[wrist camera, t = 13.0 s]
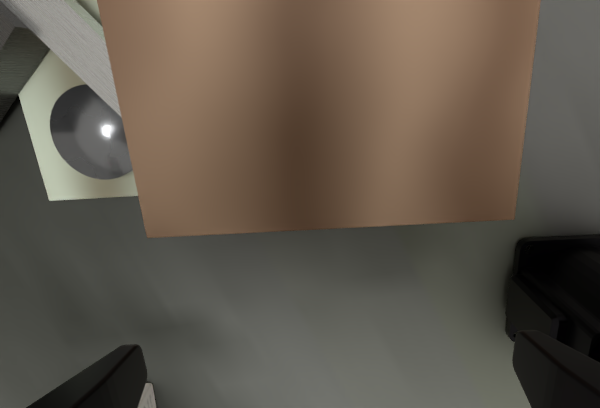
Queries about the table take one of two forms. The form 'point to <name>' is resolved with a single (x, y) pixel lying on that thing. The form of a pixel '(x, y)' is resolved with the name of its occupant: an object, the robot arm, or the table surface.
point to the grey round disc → (89, 134)
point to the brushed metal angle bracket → (52, 46)
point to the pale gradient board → (305, 112)
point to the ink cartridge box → (147, 397)
